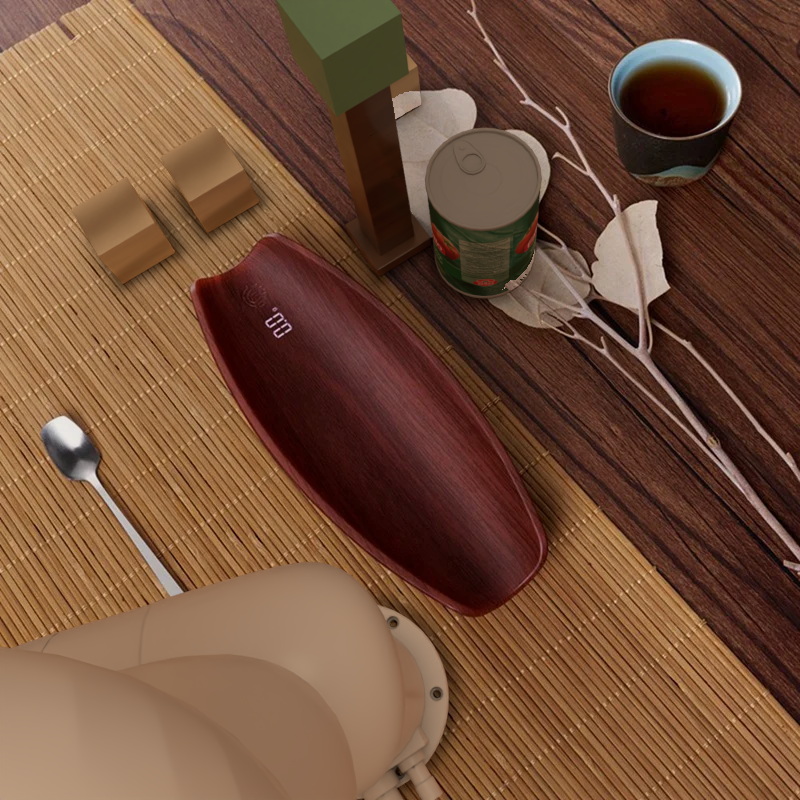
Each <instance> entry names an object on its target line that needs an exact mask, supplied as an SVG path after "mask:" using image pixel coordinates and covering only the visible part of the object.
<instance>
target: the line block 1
mask: <svg viewBox="0 0 800 800" xmlns="http://www.w3.org/2000/svg"><path fill="white" fill-rule="evenodd" d="M70 211H71V212H72V214H73V216H74V217H75V220H76V221H77V223H78V225H79V226H80V228H81V230H82V231H83V233H84V235H85V237H86V238H87V240H88V242H89V244H90V245H91V247H92V249H93V250H94V253H96V255H97V257H98V258H99V259H100V260H101V262H102V263H103V264H104V265H105V266H106V267H107V268H108V269H109V270H110V273H112V274H113V275H114V276H115V278H116V279H117V280H118V281H119V282H120V283H121V284H122V285H124V284H126V283H127V282H129V281H131V280H133V279H134V278H135V277H137V276H139V275H141V274H143V273H144V272H146V271H147V270H149V269H151V268H152V267H154V266H156V265H158V264H159V263H161V262H162V261H164V260H166V259H168V258H169V257H171V256H172V255H174V254H175V253H176V251H175V249H174V247H173V245H172V244H171V242H170V241H169V239H168V238H167V236H166V234H165V233H164V231H163V230H162V228H161V226H160V225H159V223H158V221H157V220H156V218H155V217H154V215H153V213H152V212H151V210H150V208H149V207H148V206H147V204H146V203H145V201H144V199H143V198H142V197H141V195H140V194H139V193H138V191H137V189H136V188H135V187H134V185H133V184H132V183H131V181H130V179H129V178H128V177H127V176H125V177H123V178H122V179H120V180H118V181H116V182H114V183H113V184H111V185H110V186H107V187H106V188H104V189H103V190H101V191H99V192H98V193H96V194H94V195H92V196H91V197H89V198H88V199H86V200H84V201H82V202H81V203H79V204H78V205H77V204H76V205H75V206H74V207H72V208H71V209H70Z"/></svg>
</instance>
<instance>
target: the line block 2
mask: <svg viewBox="0 0 800 800" xmlns="http://www.w3.org/2000/svg"><path fill="white" fill-rule="evenodd" d="M159 159H160V160H161V162H162V164H163V166H164V167H165V169H166V170H167V172H168V174H169V175H170V177H171V179H172V181H173V182H174V183H175V185H176V187H177V189H178V190H179V192H180V193H181V195H182V197H183V198H184V199H185V201H186V203H187V204H188V206H189V208H190V209H191V210H192V212H193V214H194V216H195V217H196V218H197V220H198V221H199V223H200V224H201V226H202V227H203V229H204V231H205V233H206V234H209V233H211V232H213V231H214V230H216V229H217V228H219V227H222V225H224V224H226V223H227V222H229V221H231V220H232V219H234V218H236V217H237V216H239V215H241V214H243V213H244V212H245V211H248V210H249V209H251V208H253V207H255V206H256V205H257V204H259V203H260V201H259V199H258V196H257V193H256V192H255V190H254V187H253V185H252V183H251V181H250V178H249V176H248V175H247V172H246V170H245V168H244V167H243V166H242V164H241V163H240V160H239V159H238V157H237V156H236V155H235V153H234V152H233V150H232V149H231V148H230V146H229V145H228V143H227V141H226V140H225V139H224V137H223V136H222V134H221V132H220V131H219V130H218V128H217V127H216V125H214V124H213V125H212V126H210V127H208V128H206V129H204V130H203V131H201V132H200V133H198V134H196V135H195V136H193V137H191V138H189V139H187V140H186V141H184V142H183V143H181V144H178V145H177V146H176V147H174V148H173V149H170V150H169V151H167V152H165V153H164V154H162V155H160V156H159Z"/></svg>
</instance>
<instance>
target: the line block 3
mask: <svg viewBox="0 0 800 800" xmlns="http://www.w3.org/2000/svg"><path fill="white" fill-rule="evenodd" d="M406 54H407V61H408V69H409V74H408V75H406V76H404V77H403V78H401V79H399V80H398V81H396V82H394V83H393V84H391V85H390V89H391V95H392V98H395V97H396V96H398V95H399V94H403V93H404V92H409V91H420V92H421V85H420V75H419V68H418V67H419V66H418V65H417V64H416V62H415V61H414V60H413V59H412V57H411V56H410V55H409V54H408V52H407V51H406Z"/></svg>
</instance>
